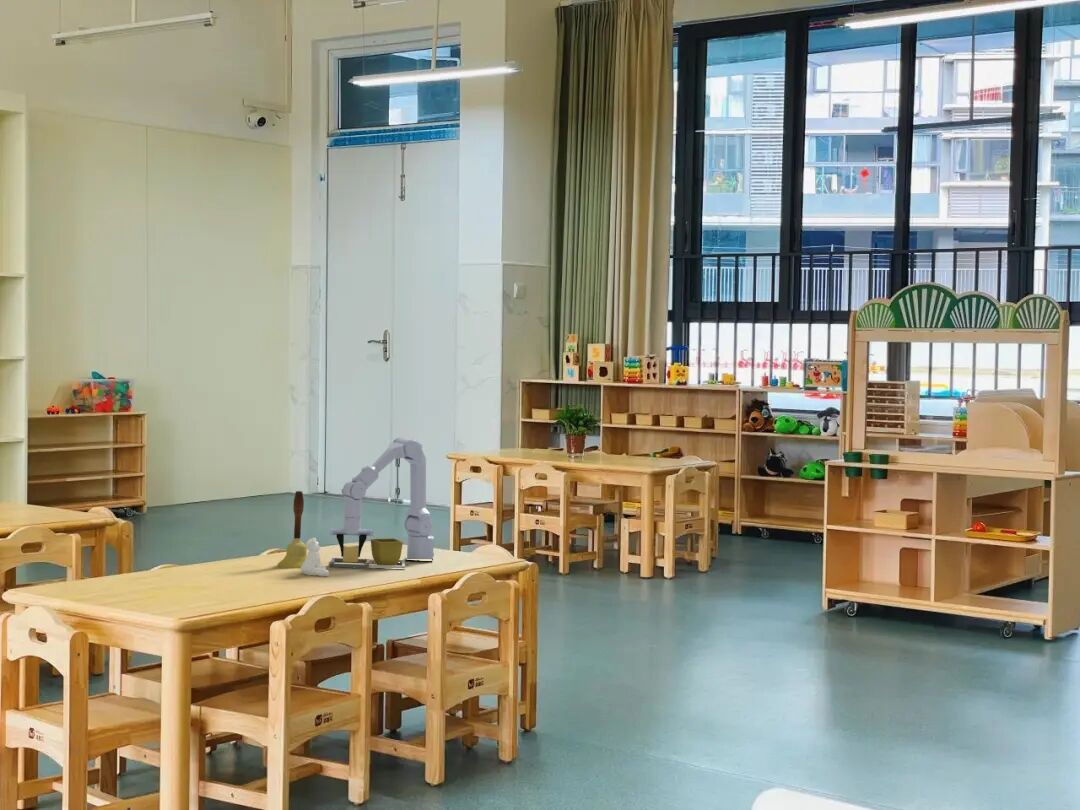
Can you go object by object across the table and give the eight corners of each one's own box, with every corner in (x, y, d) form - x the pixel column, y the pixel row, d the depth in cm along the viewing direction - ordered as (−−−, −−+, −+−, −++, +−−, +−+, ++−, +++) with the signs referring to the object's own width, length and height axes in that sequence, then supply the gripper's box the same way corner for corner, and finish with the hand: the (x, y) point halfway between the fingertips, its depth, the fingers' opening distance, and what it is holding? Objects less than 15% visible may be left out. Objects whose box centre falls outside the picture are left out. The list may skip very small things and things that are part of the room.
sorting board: (404, 563, 457) (404, 560, 457) (404, 569, 444) (405, 566, 444) (331, 561, 454) (332, 557, 454) (330, 567, 441) (330, 563, 441)
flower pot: (369, 564, 451) (370, 538, 451) (392, 563, 455) (393, 537, 455) (378, 568, 444) (379, 542, 443) (402, 567, 448) (403, 541, 447)
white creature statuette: (329, 577, 423) (331, 540, 422) (302, 577, 420) (304, 539, 420) (325, 572, 432) (326, 535, 431) (298, 572, 429) (300, 535, 429)
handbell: (287, 561, 450) (290, 488, 449) (320, 564, 446) (323, 491, 445) (270, 566, 438) (274, 491, 437) (304, 569, 434) (307, 494, 434)
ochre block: (357, 559, 451) (358, 545, 451) (357, 562, 446) (358, 547, 446) (342, 559, 450) (343, 545, 450) (343, 561, 445) (343, 547, 445)
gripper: (373, 515, 453) (371, 555, 453) (330, 514, 450) (329, 554, 451) (374, 518, 446) (372, 558, 446) (331, 517, 443) (329, 557, 444)
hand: (350, 556), depth 448 cm, fingers closed on ochre block, 5 cm apart
